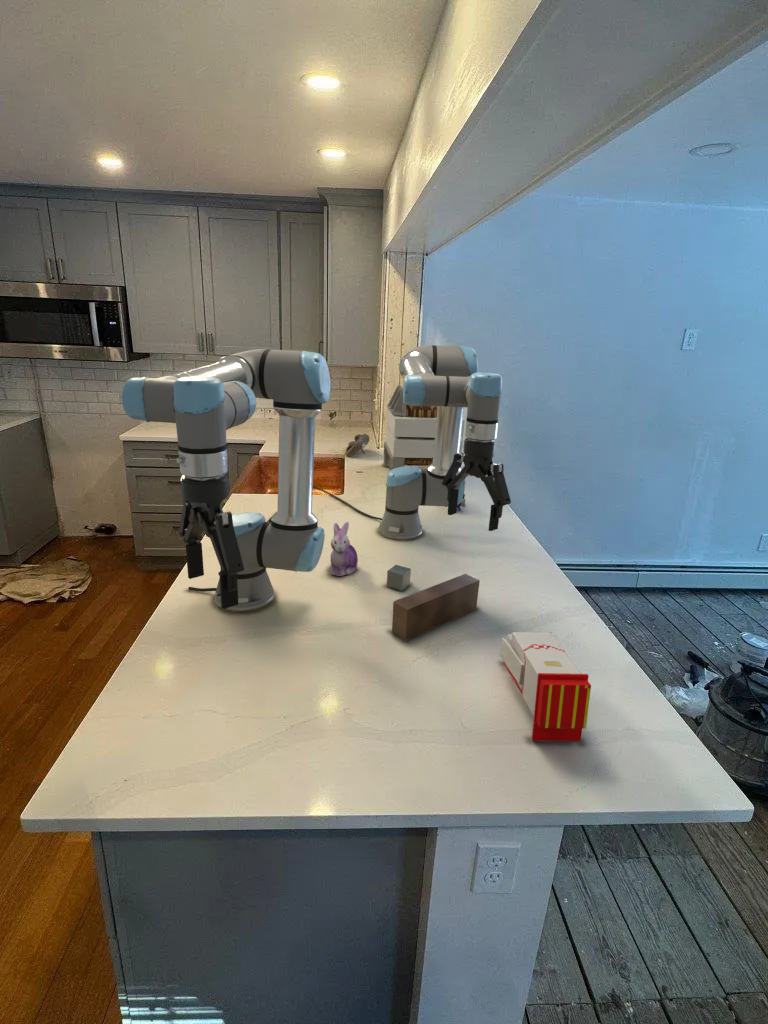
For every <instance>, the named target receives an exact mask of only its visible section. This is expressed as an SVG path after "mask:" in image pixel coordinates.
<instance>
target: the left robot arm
mask: <svg viewBox="0 0 768 1024" xmlns="http://www.w3.org/2000/svg"><path fill="white" fill-rule="evenodd" d="M331 385H332V384H331V376H330V370H329V366H328V363H327V360H326V358H325V357H324V356H323V355H322V354H321V353H318V352H314V351H307V350H287V349H268V348H257V349H250V350H246V351H241V352H237V353H236V352H235V353H233V354H229V355H225V356H222V357H220V358H219V359H218V360H217V361H216V363H213V364H210V365H205V366H200V367H196V368H193V369H190V370H186V371H181V372H178V373H173V374H170V375H165V376H164V375H163V376H161V377H156V378H153V377H146V376H143V377H131V378H129V379H128V380H127V381H126V382H125V383H124V385H123V387H122V391H121V405H122V408H123V410H124V413H125V414H126V415H127V416H128V417H129V418H130V419H133V420H136V421H145V422H147V423H151V422H153V423H168V424H175V429H176V437H177V450H178V451H177V452H178V457H176V459H175V461H176V463H177V465H178V464H179V472H180V474H181V475H182V476H181V477H180V489H181V490H180V491H181V498H182V510H181V516H180V523H179V530H178V535H179V537H180V538H183V541H182V542H183V543H184V544H185V554H186V556H185V557H186V567H187V578H188V579H189V580H192V579H195V578H199V577H203V576H205V570H204V557H203V543H202V542H201V541H203V536H202V534H203V532H204V534H205V536H206V537H207V538H209V539H210V542H211V545H212V547H213V550H214V553H215V555H216V558H217V561H218V564H219V567H220V570H219V572H218V576H219V578H218V582H217V586H216V587H204V588H203V587H195V586H188V590H189V591H194V592H201V593H205V592H206V593H207V592H214V602H215V604H216V606H217V607H218V608H220V609H222V610H224V611H227V612H231V613H250V612H254V611H258V610H261V609H263V608H266V607H267V606H269V605H270V604H271V603H272V602H273V601H274V598H275V591H274V587H273V584H272V581H271V579H270V576H269V574H268V572H267V569H273V570H283V571H290V572H294V573H297V572H303V573H310V572H312V571H314V570H315V569H316V567H317V565H318V563H319V561H320V559H321V557H322V554H323V553H322V552H323V549H324V543H325V536H326V535H325V534H326V533H325V529H324V528H323V527H321V526H318V524H319V523H318V517H317V516H316V515H315V514H314V513H313V496H314V495H313V492H314V487H313V486H314V467H315V464H314V462H315V440H316V439H315V438H316V437H315V436H316V435H315V434H316V417H317V416H318V415H319V414H320V413H321V412H322V410H323V405H325V404H327V403H328V402H329V401H330V398H331V388H332V387H331ZM257 399H261V400H262V399H265V400H272V408H273V409H274V411H275V412H276V413H277V414H278V416H279V417H278V418H279V419H278V461H277V463H278V465H277V466H278V468H277V511H276V512H275V513H276V514H275V513H274V514H275V515H274V514H273V515H274V516H273V515H272V516H271V517H272V518H271V517H270V518H271V522H267V521H266V517H265V515H264V514H262V513H260V512H251V511H250V512H243V513H237V514H233V513H232V512H231V510H230V511H225V512H224V510H223V507H222V502H223V501H224V500H226V499H227V498H228V497H229V495H230V481H229V475H227V473H228V472H229V458H228V457H229V456H228V447H227V446H228V445H227V430H229V429H232V428H234V427H238V426H240V425H243V424H245V423H246V422H247V421H248V420H249V419H251V418H252V417H253V415H254V414H255V412H256V409H257Z"/></svg>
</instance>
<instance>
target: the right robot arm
mask: <svg viewBox="0 0 768 1024" xmlns="http://www.w3.org/2000/svg"><path fill="white" fill-rule="evenodd" d="M398 366H399V367H398V369H399V373H400V376H401V377H402V379H403V382H402V383H403V384H402V388H403V402H404V403H405V404H406V405H414V406H438V408H437V419H436V430H435V442H434V453H433V463H432V464H430V465H428V466H427V471H422V469H421V468H420V467H419V466H407V465H404V467H398V468H395V469H392V470H391V471H390V470H388V473H387V475H386V482H385V487H386V488H385V489H386V490H385V504H384V505H385V507H384V508H385V509H384V513H383V515H382V517H378V516H373V515H370V514H369V513H366V512H363V510H362V511H361V510H360V509H358V508H356V507H354V506H353V505H352V504H350V503H348V502H347V501H345V500H343V499H342V498H340V497H338V496H336V495H335V494H333V493H331V492H328V491H327V490H325V489H322V488H320V487H318V486H316V485H313V489H316V490H319V491H321V492H323V493H325V494H327V495H329V496H330V497H333V498H335V499H336V500H338V501H340V502H342V503H343V504H345V505H347V506H348V507H350V508H351V509H353V510H354V511H356V512H358V513H359V514H362V515H364V516H365V517H368V518H370V519H373V520H374V519H375V520H379V521H381V522H379V527H378V533H379V534H380V535H381V536H382V537H385V538H387V539H389V540H395V541H410V540H415V539H418V538H420V537H421V536H422V535H423V525H422V524H421V518H420V515H419V507H420V506H421V507H445V508H447V515H448V516H452V515H455V514H458V508H457V505H459V503H460V502H461V500H462V498H463V495H464V494H465V490H466V478H468V477H469V476H470V477H475V478H477V479H480V481H481V482H482V483H483V484H484V486H485V488H486V490H487V493H488V495H489V496H490V498H491V500H492V503H493V504H491V505H490V513H489V521H488V528H487V529H488V531H489V532H493V531H496V530H498V529H499V521H500V519H501V518H502V516H503V508H504V507H505V506H507V505H511V504H512V500H511V496H510V493H509V489H508V485H507V482H506V477H505V474H504V468H505V466H504V464H503V463H502V462H501V463H494V461H493V459H494V456H495V454H496V444H497V443H496V441H495V440H496V439H497V438H498V428H499V427H498V426H499V418H500V417H499V416H500V408H501V399H502V393H503V376H502V375H500V373H495V372H480V371H479V363H478V356H477V353H476V351H475V349H474V348H473V347H470V346H462V345H433V344H425V345H419V346H415V347H413V348H411V349H409V350H408V351H406V352H405V353H404V354H403V355H402V357H401V358H400V361H399V364H398ZM465 408H467V409H466V420H465V421H466V422H465V430H464V431H465V432H464V436H465V439H464V440H463V449H462V453H459V449H460V440H462V438H461V431H462V421H463V419H464V412H465ZM462 465H464V466H463V467H462ZM460 467H461V468H460Z"/></svg>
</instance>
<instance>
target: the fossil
mask: <svg viewBox="0 0 768 1024" xmlns="http://www.w3.org/2000/svg"><path fill="white" fill-rule="evenodd" d="M369 443H370V436H369V434H367V433H363V434H361V433H360V434H356V435H355V436H354V441H349V442H348V445H347V447H346V449H345V455H346V457H348V458H351V457H354V456H356V455H357V454H359V453H361V452H362V454H365V451H364V448H365V447H366V446H368V444H369Z"/></svg>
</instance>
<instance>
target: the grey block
mask: <svg viewBox="0 0 768 1024" xmlns="http://www.w3.org/2000/svg"><path fill="white" fill-rule="evenodd" d="M411 577H412V568H409V567H406V566H403V565H399V564H394V565H393V566H392V567H390V568H389V569H388V570H387V572H386V587H387V588H390V589H393V590H397V591H400V592H402V591H404V590H405V589H406V588H407V587H409V586H410V585H411Z"/></svg>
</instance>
